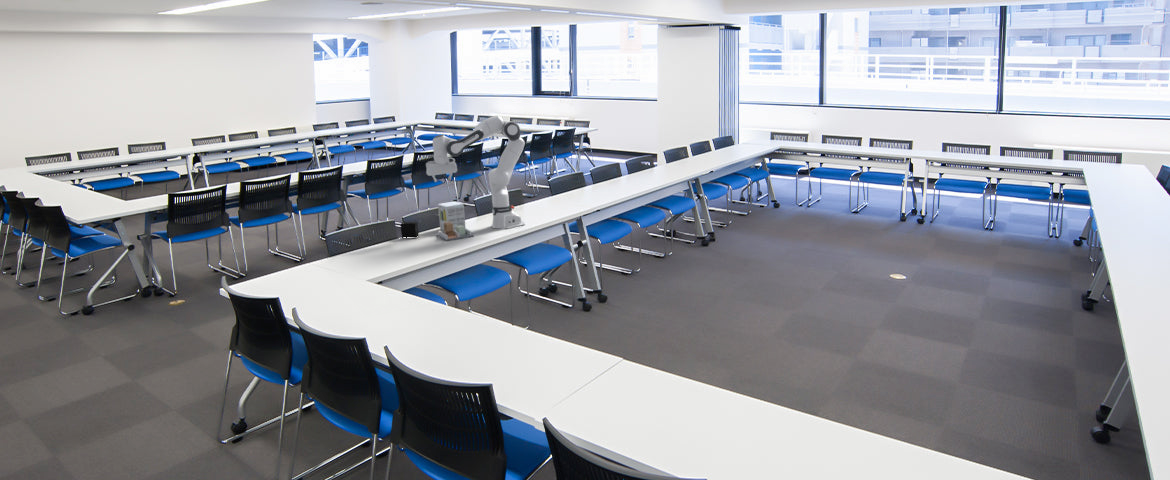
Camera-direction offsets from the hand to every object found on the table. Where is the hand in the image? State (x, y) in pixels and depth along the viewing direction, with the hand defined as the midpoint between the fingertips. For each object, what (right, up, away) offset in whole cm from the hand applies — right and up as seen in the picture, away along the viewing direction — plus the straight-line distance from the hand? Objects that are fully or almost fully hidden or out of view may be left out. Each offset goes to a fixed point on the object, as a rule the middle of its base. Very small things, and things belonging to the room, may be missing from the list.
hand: (442, 180), depth 501 cm
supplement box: (+4, -32, +13) cm, 35 cm away
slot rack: (+9, -37, -7) cm, 39 cm away
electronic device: (-20, -38, -5) cm, 43 cm away
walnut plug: (+6, -36, -9) cm, 38 cm away
